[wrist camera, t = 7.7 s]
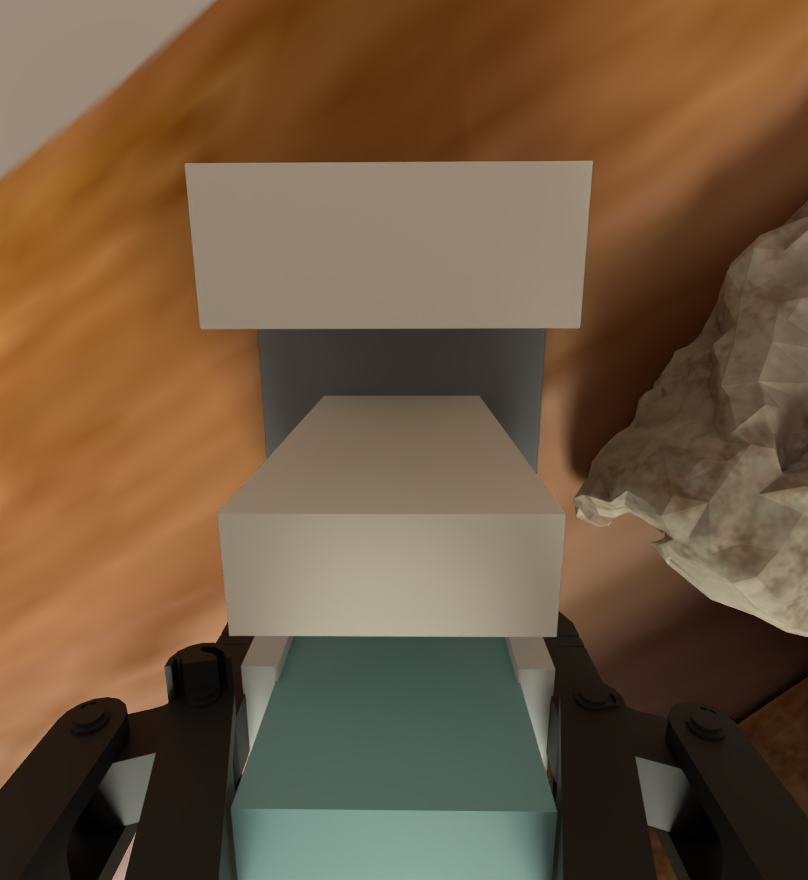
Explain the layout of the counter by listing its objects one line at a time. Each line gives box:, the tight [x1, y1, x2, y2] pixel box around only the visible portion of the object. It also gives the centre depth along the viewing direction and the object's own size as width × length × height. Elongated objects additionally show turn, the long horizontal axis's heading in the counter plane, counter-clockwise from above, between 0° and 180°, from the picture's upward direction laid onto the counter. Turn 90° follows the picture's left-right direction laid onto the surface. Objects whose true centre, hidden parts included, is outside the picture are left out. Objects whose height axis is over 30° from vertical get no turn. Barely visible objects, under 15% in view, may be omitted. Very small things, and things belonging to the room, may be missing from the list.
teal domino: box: [231, 636, 557, 880], centre depth 13 cm, size 2×5×10 cm, turn 90°
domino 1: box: [185, 161, 593, 329], centre depth 12 cm, size 2×5×10 cm, turn 90°
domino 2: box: [218, 396, 566, 637], centre depth 13 cm, size 2×5×10 cm, turn 90°
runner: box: [258, 328, 546, 474], centre depth 19 cm, size 24×9×1 cm, turn 0°
